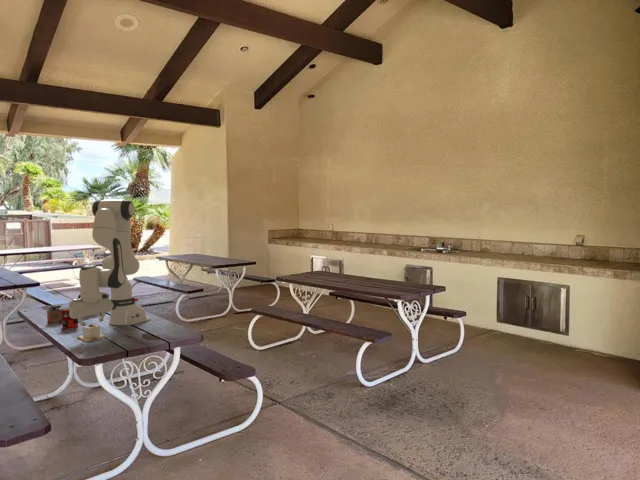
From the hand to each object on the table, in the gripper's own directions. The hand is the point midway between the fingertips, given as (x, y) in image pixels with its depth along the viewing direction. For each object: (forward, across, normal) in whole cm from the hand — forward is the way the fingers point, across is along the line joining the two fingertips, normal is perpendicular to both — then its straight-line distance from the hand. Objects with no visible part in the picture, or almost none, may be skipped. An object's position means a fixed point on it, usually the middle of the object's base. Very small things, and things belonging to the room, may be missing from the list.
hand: (92, 323), depth 241 cm
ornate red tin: (+8, 0, +49) cm, 49 cm away
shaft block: (+7, -1, 0) cm, 7 cm away
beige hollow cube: (+6, -1, 0) cm, 6 cm away
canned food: (+8, +1, +31) cm, 32 cm away
